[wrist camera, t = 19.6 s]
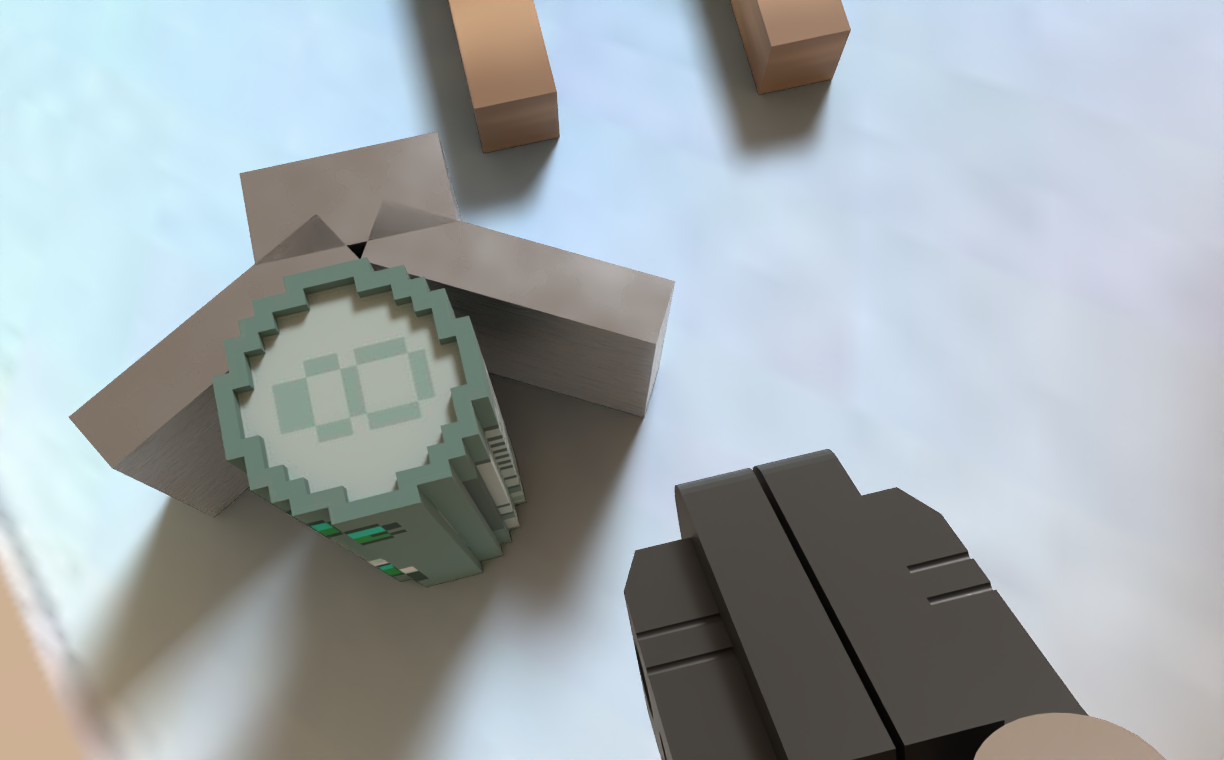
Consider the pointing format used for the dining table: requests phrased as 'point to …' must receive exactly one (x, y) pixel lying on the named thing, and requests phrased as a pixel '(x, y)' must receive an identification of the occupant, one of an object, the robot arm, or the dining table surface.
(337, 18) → the dining table surface
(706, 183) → the dining table surface
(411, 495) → the can
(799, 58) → the wooden bar pair
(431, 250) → the v cradle
